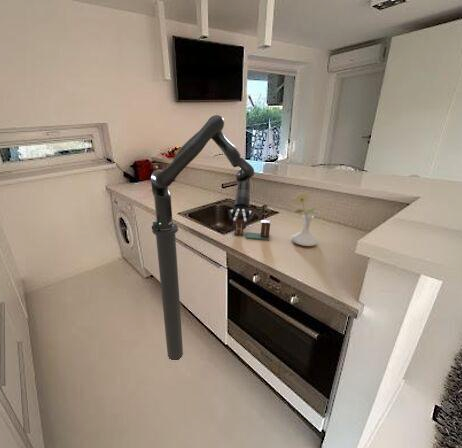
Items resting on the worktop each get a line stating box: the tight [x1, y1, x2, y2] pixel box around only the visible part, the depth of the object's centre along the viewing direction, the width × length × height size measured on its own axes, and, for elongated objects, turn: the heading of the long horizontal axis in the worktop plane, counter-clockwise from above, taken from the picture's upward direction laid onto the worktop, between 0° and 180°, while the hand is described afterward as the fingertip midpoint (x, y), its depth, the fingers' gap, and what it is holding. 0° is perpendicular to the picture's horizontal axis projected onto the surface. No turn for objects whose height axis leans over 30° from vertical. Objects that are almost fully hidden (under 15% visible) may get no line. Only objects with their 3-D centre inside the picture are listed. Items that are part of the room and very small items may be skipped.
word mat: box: [245, 232, 270, 241], centre depth 125 cm, size 11×6×1 cm, turn 73°
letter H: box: [234, 218, 244, 237], centre depth 128 cm, size 4×4×8 cm
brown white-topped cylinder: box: [260, 219, 271, 239], centre depth 122 cm, size 4×4×8 cm
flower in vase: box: [291, 191, 319, 247], centre depth 112 cm, size 13×11×25 cm
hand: (239, 228), depth 126 cm, fingers closed on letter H, 4 cm apart
